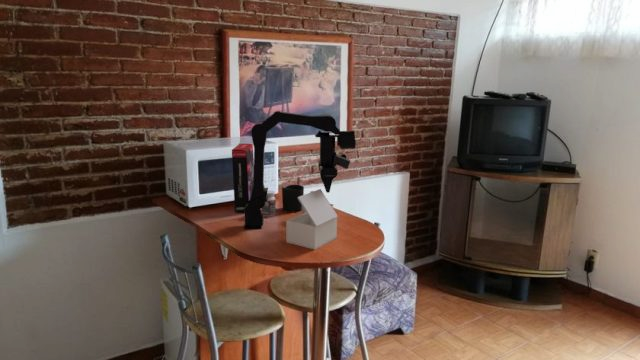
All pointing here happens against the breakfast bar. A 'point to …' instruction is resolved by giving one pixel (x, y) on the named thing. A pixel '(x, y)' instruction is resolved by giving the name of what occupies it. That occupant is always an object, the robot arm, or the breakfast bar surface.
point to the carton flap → (317, 207)
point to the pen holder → (292, 198)
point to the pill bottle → (269, 205)
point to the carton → (310, 232)
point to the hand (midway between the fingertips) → (327, 189)
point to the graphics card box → (242, 175)
